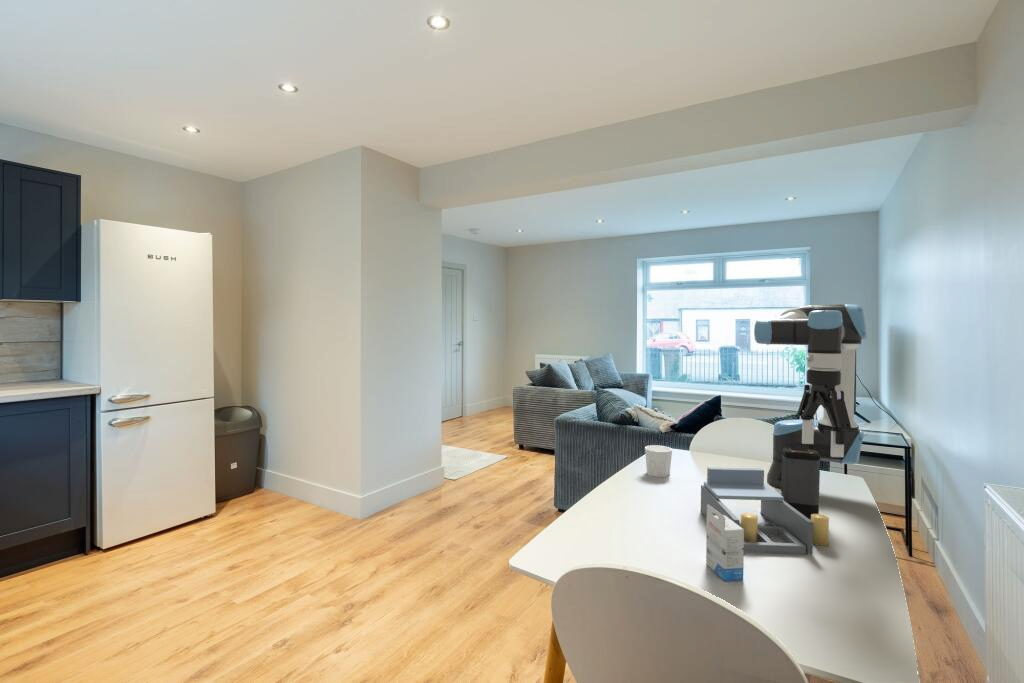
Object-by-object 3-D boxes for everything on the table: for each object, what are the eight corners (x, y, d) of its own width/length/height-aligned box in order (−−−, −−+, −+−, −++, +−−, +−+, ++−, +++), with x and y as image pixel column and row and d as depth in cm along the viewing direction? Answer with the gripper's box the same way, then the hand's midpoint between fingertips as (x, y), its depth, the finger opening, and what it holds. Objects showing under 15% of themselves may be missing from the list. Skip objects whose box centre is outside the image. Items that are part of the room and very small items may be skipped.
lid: (764, 486, 147) (764, 468, 147) (783, 500, 135) (783, 481, 135) (703, 484, 149) (704, 467, 148) (717, 498, 137) (717, 479, 136)
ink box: (744, 581, 109) (745, 516, 109) (723, 581, 109) (724, 517, 108) (724, 562, 118) (725, 502, 117) (705, 563, 117) (706, 503, 117)
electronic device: (814, 514, 147) (816, 449, 147) (819, 522, 142) (821, 454, 141) (780, 510, 150) (781, 446, 150) (783, 517, 145) (785, 451, 144)
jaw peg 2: (822, 539, 130) (823, 514, 130) (831, 546, 126) (832, 520, 126) (807, 539, 130) (807, 513, 130) (815, 545, 126) (816, 519, 126)
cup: (675, 478, 182) (675, 451, 182) (648, 477, 182) (649, 451, 182) (667, 469, 192) (667, 445, 192) (641, 469, 192) (642, 445, 192)
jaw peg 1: (753, 538, 130) (753, 513, 130) (759, 545, 127) (760, 519, 126) (738, 538, 131) (738, 512, 131) (744, 545, 127) (744, 518, 127)
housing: (764, 513, 148) (765, 486, 148) (812, 554, 122) (813, 522, 121) (700, 511, 150) (701, 485, 149) (733, 551, 123) (734, 519, 123)
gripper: (785, 365, 139) (783, 438, 140) (837, 373, 114) (834, 462, 115) (812, 365, 139) (810, 439, 140) (870, 374, 114) (867, 463, 115)
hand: (821, 449), depth 127 cm, fingers open, 13 cm apart
